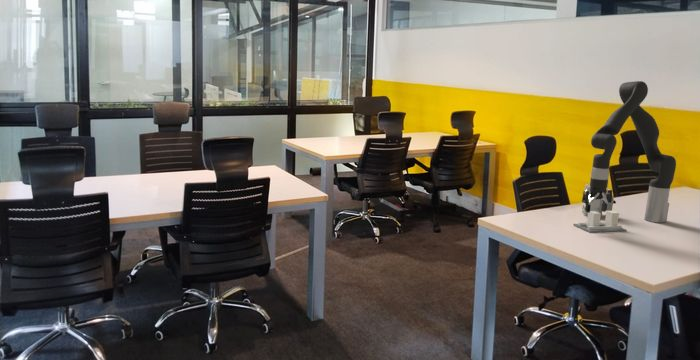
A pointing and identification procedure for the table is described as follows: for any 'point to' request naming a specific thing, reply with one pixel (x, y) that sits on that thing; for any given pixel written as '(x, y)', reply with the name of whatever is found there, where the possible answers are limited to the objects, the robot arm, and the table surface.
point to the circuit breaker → (597, 204)
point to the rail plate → (604, 224)
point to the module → (593, 218)
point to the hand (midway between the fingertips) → (595, 211)
